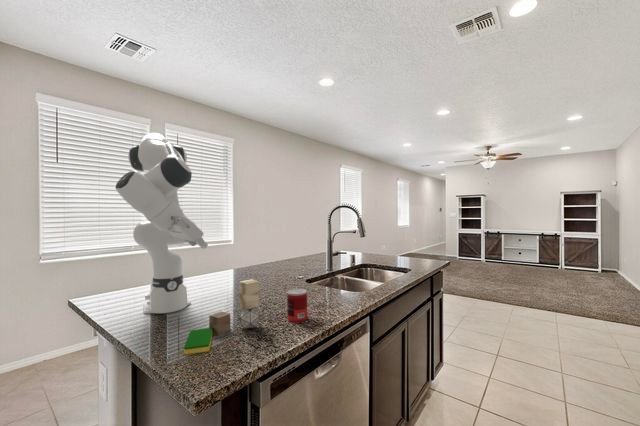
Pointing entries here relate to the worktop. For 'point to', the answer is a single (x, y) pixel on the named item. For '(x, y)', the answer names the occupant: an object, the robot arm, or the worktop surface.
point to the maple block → (249, 294)
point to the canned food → (297, 305)
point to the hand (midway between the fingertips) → (200, 245)
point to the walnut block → (219, 322)
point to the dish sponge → (198, 341)
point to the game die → (249, 318)
